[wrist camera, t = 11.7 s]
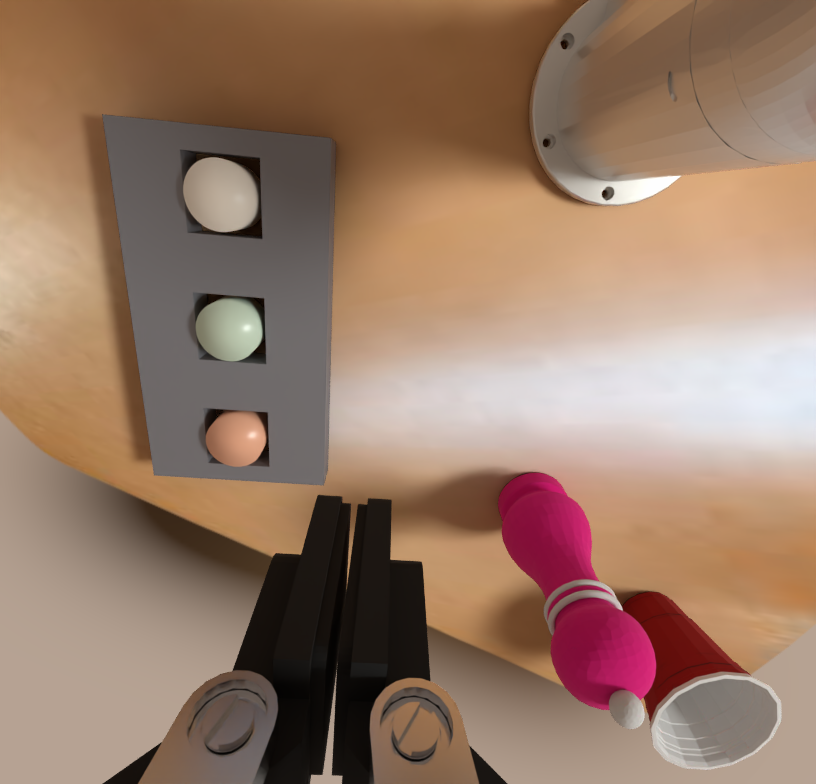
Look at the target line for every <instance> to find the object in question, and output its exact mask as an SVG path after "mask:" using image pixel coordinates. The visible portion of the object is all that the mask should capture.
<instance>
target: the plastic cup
mask: <svg viewBox="0 0 816 784" xmlns="http://www.w3.org/2000/svg"><path fill="white" fill-rule="evenodd" d="M622 609H623V611H624V612H626V613H628V614H629V615H630V616H632V617H633V618H634V619H635V620H636V621H637V622H638V623H639V624H640V625H641V626H642V628H643V629H644V631H645V632H646V634H647V635H648V637H649V639H650V642H651V644H652V647H653V649H654V653H655V659H656V674H655V678H654V682H653V684H652V687H651V688H650V690H649V691H648V693H647V694H646V695H645V696H644V700H645V703H646V709H647V712H648V715H649V720H650V729H651V736H652V742H653V746H654V747H655V749H656V750H657V751H658V752H659V753H660V755H661V756H662V757H663V758H664V759H665V760H666V761H669V762H671V763H673V764H676V765H678V766H680V767H683V768H690V769H703V770H709V769H714V768H718V767H723V766H729V765H733V764H735V763H737V762H739V761H741V760H743V759H745V758H747V757H749V756H751V755H753V754H755V753H756V752H757V751H758V750H759V749H761V748H762V747H763V746H764V745H765V744H766V743H767V742H768V741H769V740H771V739H772V737H773V735H774V733H775V731H776V730H777V728H778V726H779V724H780V722H781V701H780V700H779V698H778V697H777V695H776V694H775V692H774V691H773V689H772V688H771V687H770V686H769V685H768V684H766V683H765V682H763V681H761V680H759V679H756V678H754V677H752V676H751V675H750V674H749V673H748V672H747V671H745V670H743V669H742V668H741V667H740V666H739V665H738V664H737V663H736V662H734V661H733V660H732V659H731V658H730V657H729V656H728V655H727V654H726V653H725V652H724V651H723V650H722V649H721V648H720V647H719V646H718V645H717V644H716V643H715V642H714V641H713V640H712V639H711V638H710V637H709V636H708V635H707V634H706V633H705V632H704V631H703V630H702V629H701V628H700V627H699V626H698V625H697V624H696V623H695V622H694V621H693V620H692V619H690V618H688V616H687V615H686V614H685V613H684V612H683V611H682V610H681V609H680V608H679V607H678V606H677V605H676V604H675V603H674V602H673V601H672V600H670V599H669V598H668V597H667V596H665V595H663V594H661V593H657V592H646V593H641V594H638V595H636V596H634V597H632V598H630V599H629V600H628V601H627V602H626V603H625V604H624V605H623V606H622Z"/></svg>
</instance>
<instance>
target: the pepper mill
mask: <svg viewBox="0 0 816 784" xmlns="http://www.w3.org/2000/svg"><path fill="white" fill-rule="evenodd" d="M498 508H499V512H500V515H501V518H502V521H503V525H502V537H503V541H504V544H505V546H506V548H507V551H508V553H509V555H510V556H511V558H512V559H513V560H514V561H515V563H516V564H517V565H518V566H519V567H520V568H521V569H522V570H523V571H524V572H525V573H526V574H527V575H529V576H530V577H531V578H532V579H533V580H534V581H535V582H536V583H537V584H538V585H539V587H540V588H541V589H542V591H543V593H544V596H545V598H546V603H545V606H544V617H545V620H546V622H547V623H548V628H549V631H550V633H551V635H552V636H553V637H552V640H551V657H552V662H553V665H554V667H555V670H556V673H557V675H558V677H559V678H560V680H561V681H562V683H563V685H564V686H565V688H566V689H567V690H568V691H569V692H570V693H571V694H572V695H573V696H574V697H576V698H577V699H578V700H579V701H581V702H583V703H585V704H587V705H589V706H591V707H595V708H598V709H602V710H610V713H611V715H612V717H613V718H614V720H615V721H616V722H617V723H618V724H619V725H621V726H622V727H625V728H628V729H635V728H637V727H639V726H640V725H641V724H642V722H643V720H644V708H643V705H642V703H641V701H640V700H641V699H642V698H643V697H644V696H645V695H646V694H647V693H648V691H649V690H650V688H651V687H652V684H653V682H654V678H655V674H656V659H655V653H654V649H653V647H652V644H651V642H650V639H649V637H648V635H647V634H646V632H645V631H644V629H643V628H642V626H641V625H640V624H639V623H638V622H637V621H636V620H635V619H634V618H633V617H632V616H630V615H629V614H628V613H626V612H624V611H623V609H622V606H621V604H620V602H619V601H618V600H617V599H616V596H615V593H614V592H613V591H612V589H611V588H610V587H608V586H607V585H606V584H604V583H602V582H600V581H599V580H598V578H597V577H596V575H595V572H594V570H593V568H592V565H591V548H592V539H591V530H590V526H589V522H588V520H587V518H586V516H585V513H584V512H583V510H582V508H581V507H580V506H579V505H578V503H577V502H575V501H574V500H573V499H572V498H570V497H568V496H567V494H566V493H565V491H564V489H563V487H562V486H561V484H560V483H559V482H558V481H557V480H556V479H554V478H553V477H551V476H549V475H546V474H542V473H527V474H524V475H521V476H519V477H516V478H514V479H513V480H511V481H510V482H509V483H508V484H507V485H506V486H505V487H504V489H503V490H502V492H501V493H500V496H499V500H498Z"/></svg>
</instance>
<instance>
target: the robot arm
mask: <svg viewBox="0 0 816 784" xmlns="http://www.w3.org/2000/svg"><path fill="white" fill-rule="evenodd" d="M561 42H565V44H566V49H562V47H561V44H560V43H561ZM529 125H530V131H531V137H532V143H533V146H534V149H535V152H536V155H537V157H538V160H539V162H540V164H541V166H542V167H543V169H544V171H545V172H546V174H547V175H548V177H549V178H550V179H551V180H552V181H553V182H554V183H555V184H556V185H557V186H558V188H559V189H561V190H562V191H564V192H565V193H567V194H568V195H570V196H571V197H573V198H575V199H577V200H580V201H582V202H585V203H588V204H593V205H600V206H621V205H627V204H633V203H637V202H639V201H642V200H645V199H648V198H650V197H652V196H654V195H656V194H658V193H659V192H661V191H663V190H665V189H666V188H668V187H669V186H670V185H672V184H673V183H674V182H675V181H677V180H678V179H679V178H680V177H681V176H683V175H691V174H701V173H711V172H720V171H730V170H740V169H749V168H759V167H769V166H778V165H788V164H798V163H802V162H811V161H816V0H588V1H587V2H586V3H585V4H583V5H582V6H581V7H580V8H579V9H577V10H576V11H575V12H574V13H573V14H572V15H571V16H570V17H569V19H568V20H567V21H566V22H565V23H564V24H563V25H562V27H561V28H560V29H559V31H558V32H557V33H556V35H555V36H554V37H553V39H552V40H551V42H550V43H549V45H548V47H547V49H546V51H545V53H544V55H543V57H542V59H541V61H540V63H539V66H538V69H537V72H536V75H535V78H534V81H533V86H532V92H531V98H530V104H529ZM544 139H547V140H548V142H549V144H548V146H547V147H544V146H543V140H544ZM603 190H605V192H606V195H605V196H604V197H602V191H603ZM350 513H351V504H348V503H342V497H340V496H325V495H318V496H317V499H316V503H315V507H314V510H313V514H312V518H311V521H310V525H309V528H308V532H307V536H306V539H305V543H304V547H303V550H302V554H301V555H298V554H280V553H276V554H275V555H274V556H273V559H272V561H271V564H270V566H269V569H268V572H267V575H266V578H265V581H264V584H263V586H262V589H261V592H260V595H259V598H258V600H257V603H256V606H255V609H254V612H253V614H252V617H251V620H250V623H249V626H248V629H247V631H246V635H245V637H244V640H243V643H242V646H241V648H240V651H239V654H238V657H237V660H236V663H235V665H234V668H233V671H232V672H227V673H223V674H220V675H218V676H216V677H214V678H212V679H210V680H208V681H206V682H205V683H204V684H203V685H202V686H201V687H199V688H198V689H197V690H196V691H195V692H194V693H193V694H192V695H191V696H190V698H189V699H188V701H187V702H186V703H185V704H184V706H183V707H182V709H181V711H180V712H179V714H178V716H177V717H176V719H175V721H174V723H173V724H172V726H171V728H170V730H169V732H168V733H167V735H166V737H165V738H164V740H163V742H161V743H160V744H159V745H157V746H156V747H154V748H153V749H151V750H150V751H149V752H147V753H146V754H144V755H143V756H141V757H140V758H139V759H137V760H136V761H134V762H133V763H132V764H130V765H129V766H127V767H126V768H124V769H123V770H122V771H120V772H119V773H117V774H116V775H114V776H113V777H112V778H110V779H109V780H107V781H106V782H105V783H103V784H310V779H311V775H322V774H323V768H324V761H325V753H326V746H327V738H328V731H329V723H330V715H331V708H332V700H333V693H334V685H335V677H336V670H337V681H336V701H335V722H334V743H333V763H332V775H339V776H343V777H342V784H507V783H506V782H505V781H504V780H503V779H502V778H501V777H500V776H499V775H498V774H497V773H496V772H495V771H494V770H493V769H492V768H491V767H490V766H489V765H488V764H487V763H486V762H485V761H484V760H483V759H482V758H481V757H480V756H479V755H478V754H477V753H476V752H475V751H474V750H473V749H472V748H471V747H470V746H469V743H468V739H467V736H466V732H465V728H464V724H463V721H462V717H461V715H460V712H459V710H458V707H457V705H456V703H455V702H454V700H453V699H452V698H451V697H450V695H449V694H448V693H447V692H446V691H445V690H444V689H442V688H441V687H439V686H438V685H437V684H435V683H433V682H430V669H429V654H428V640H427V624H426V609H425V594H424V579H423V566H422V562H418V561H401V560H390V547H391V500H386V499H371V498H368V504H367V505H363V504H358V509H357V517H356V524H355V532H354V539H353V547H352V554H351V562H350V569H349V577H348V584H347V568H348V550H349V531H350ZM346 587H347V592H346ZM337 662H338V664H337Z"/></svg>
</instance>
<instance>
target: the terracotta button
mask: <svg viewBox="0 0 816 784" xmlns="http://www.w3.org/2000/svg"><path fill="white" fill-rule="evenodd" d="M268 439H269V433H268V415H267V414H266V412H255V411H241V410H226V409H224V411H223V412H222V413H221V414H220V415H219V417H218V418H217V419H216V420H215V421H214V422H213V424H212V425H211V426H210V427H209V429H208V431H207V434H206V445H207V448H208V450H209V452H210V453H211V454H212V456H213V457H214V458H215V459H217V460H218V461H220V462H221V463H223V464H225V465H228V466H233V467H242V466H247V465H249V464H251V463H253V462H254V461H256V460H257V459H258V457H259V456H260V454H261V452H262V450H263V449H264V447H265V445H266V443H267V441H268Z"/></svg>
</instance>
